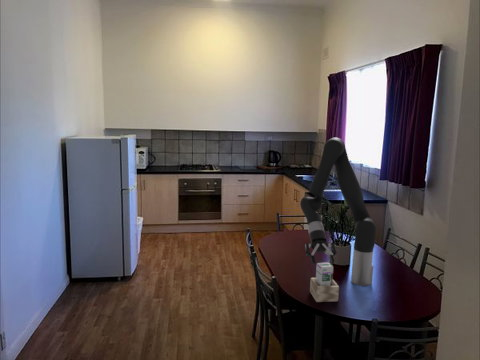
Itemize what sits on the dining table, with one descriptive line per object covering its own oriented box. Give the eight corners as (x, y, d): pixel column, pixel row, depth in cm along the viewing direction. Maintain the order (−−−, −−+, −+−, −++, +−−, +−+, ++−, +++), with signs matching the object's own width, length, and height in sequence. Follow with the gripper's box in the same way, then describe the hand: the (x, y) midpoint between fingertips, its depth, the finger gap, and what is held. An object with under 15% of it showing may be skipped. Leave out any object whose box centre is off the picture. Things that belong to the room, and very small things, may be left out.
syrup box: (319, 297, 175) (322, 267, 172) (314, 291, 180) (316, 262, 178) (331, 296, 176) (333, 266, 173) (325, 290, 181) (328, 261, 179)
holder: (330, 291, 184) (331, 277, 182) (338, 301, 174) (339, 286, 173) (309, 291, 182) (310, 277, 181) (316, 301, 172) (317, 287, 171)
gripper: (304, 229, 185) (310, 261, 175) (333, 228, 187) (340, 260, 177) (300, 236, 191) (306, 267, 181) (328, 236, 193) (335, 266, 183)
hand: (323, 264), depth 179 cm, fingers open, 8 cm apart
